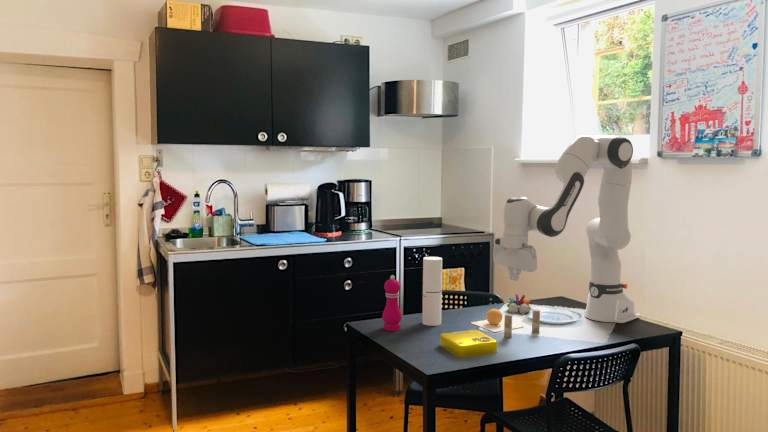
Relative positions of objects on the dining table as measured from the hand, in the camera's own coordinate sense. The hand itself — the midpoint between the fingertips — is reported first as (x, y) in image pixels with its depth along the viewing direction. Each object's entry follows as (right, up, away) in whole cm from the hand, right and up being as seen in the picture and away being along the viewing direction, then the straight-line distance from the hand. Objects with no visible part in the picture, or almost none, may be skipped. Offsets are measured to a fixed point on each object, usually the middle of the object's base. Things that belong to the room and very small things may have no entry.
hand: (514, 279), depth 242 cm
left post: (-3, -20, -5) cm, 21 cm away
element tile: (-19, -22, -18) cm, 34 cm away
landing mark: (-5, -18, +10) cm, 21 cm away
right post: (+8, -19, +1) cm, 21 cm away
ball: (-5, -15, +10) cm, 19 cm away
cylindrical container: (-29, -18, +12) cm, 36 cm away
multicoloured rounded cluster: (+8, -16, +30) cm, 35 cm away
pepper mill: (-44, -19, +4) cm, 48 cm away
